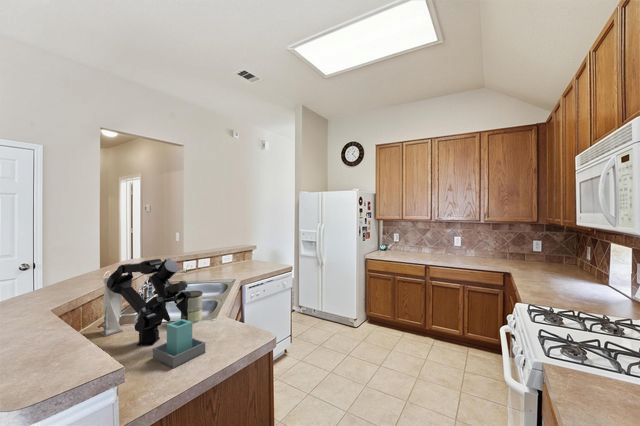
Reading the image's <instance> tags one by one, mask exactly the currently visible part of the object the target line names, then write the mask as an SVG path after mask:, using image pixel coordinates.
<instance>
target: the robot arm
mask: <svg viewBox="0 0 640 426" xmlns="http://www.w3.org/2000/svg"><path fill="white" fill-rule="evenodd" d="M179 269H180V265H179V264H178V263H177V262H176V261H174V260H172V259H171V258H166V259H164V260H163V261H162V259H161V258H154V259H149V260H144V261H142V262H139V263H138V262H137V263H124V264H120V265H118V267H117V269H116V270H114V272H113V273H111V274H110V277H109V279H108V281H107V287H108V288H109V289H110V290H111V291H112V292H114V293H118V294H121V295H122V298H123V299H124V300H125V301H126V302H127V303H128V304H129V305H130V307H132V309H133V311H135V312H136V314H137V321H136V323H135V324H134V330H135V331H136V332H138V342H137V343H136V346H153V345H155V343H157V342H158V341H159V340H160V339H161V337H160V330H159V326H161V325H162V324H163V320H165V322H168V323H169V322H170V321H171V317H170V313H169V312H168V309H167V307H166V306H167V303H171V302H174V304H175V307H176V308H177V309H178V310H179V311H180V313H181V312H182V314H183V315H184V316H187V315H188V311H187V301H188V299H189V298H190V296H191V294H190V292H189V291H190V290H187V288H188V282H187V281H186V280H185V279H183V280H181V281H179V282H176V283H174V282H171V283H170V279H171V278H172V277H173V276H174V275H175V274H176V273H178V271H179ZM133 273H140V274H142V275H149V276H148V279H147V283H148V284H152V286H153V288H154V291H153V294H154V295H157V296H153V297H152V298H151V299H149V300H148V301H146V300H145V299H144V298H143V297H142V296H141V295H140V294H139V293H138V291H136V290H135V288H134V287H133V286H132V285H133V279H134V275H133ZM151 274H152V275H151ZM121 275H122V276H121Z"/></svg>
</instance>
